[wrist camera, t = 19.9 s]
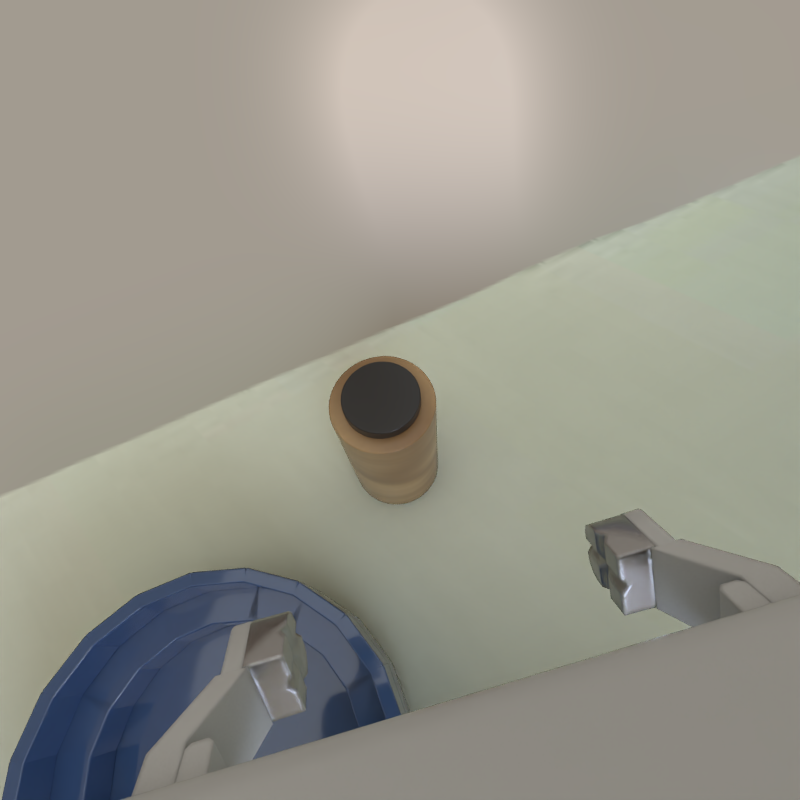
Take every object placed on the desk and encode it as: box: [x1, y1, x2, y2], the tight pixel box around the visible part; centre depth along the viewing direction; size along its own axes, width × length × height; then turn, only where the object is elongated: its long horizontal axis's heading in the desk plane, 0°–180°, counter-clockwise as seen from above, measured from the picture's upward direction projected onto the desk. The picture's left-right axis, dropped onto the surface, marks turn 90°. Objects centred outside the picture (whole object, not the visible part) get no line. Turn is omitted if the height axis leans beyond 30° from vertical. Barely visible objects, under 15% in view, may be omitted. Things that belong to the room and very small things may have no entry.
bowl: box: [2, 568, 410, 800], centre depth 21 cm, size 15×15×4 cm
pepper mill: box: [329, 356, 438, 504], centre depth 25 cm, size 4×4×9 cm
